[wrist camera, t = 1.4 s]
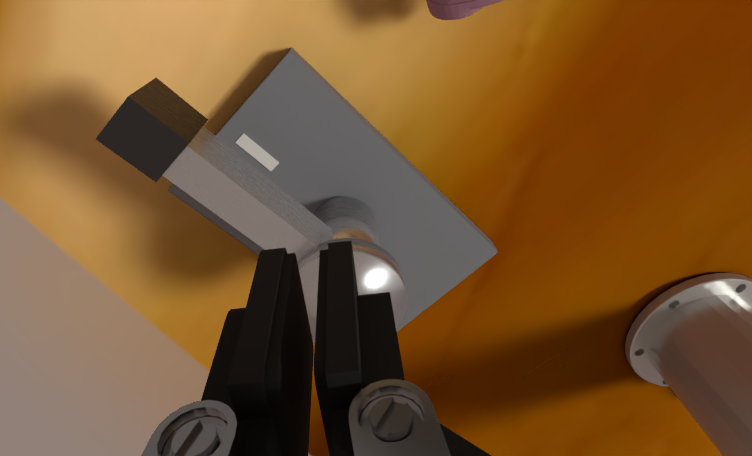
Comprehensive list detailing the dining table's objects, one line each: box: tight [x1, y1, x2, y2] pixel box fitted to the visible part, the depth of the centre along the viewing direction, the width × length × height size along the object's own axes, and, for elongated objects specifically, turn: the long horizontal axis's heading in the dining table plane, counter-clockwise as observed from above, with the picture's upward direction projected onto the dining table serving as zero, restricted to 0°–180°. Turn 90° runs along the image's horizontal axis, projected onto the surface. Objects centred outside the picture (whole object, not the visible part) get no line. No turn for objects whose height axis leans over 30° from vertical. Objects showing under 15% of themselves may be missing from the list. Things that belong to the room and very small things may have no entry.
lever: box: [96, 78, 407, 344], centre depth 26 cm, size 17×6×9 cm, turn 44°
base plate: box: [168, 48, 498, 332], centre depth 33 cm, size 20×12×2 cm, turn 44°
